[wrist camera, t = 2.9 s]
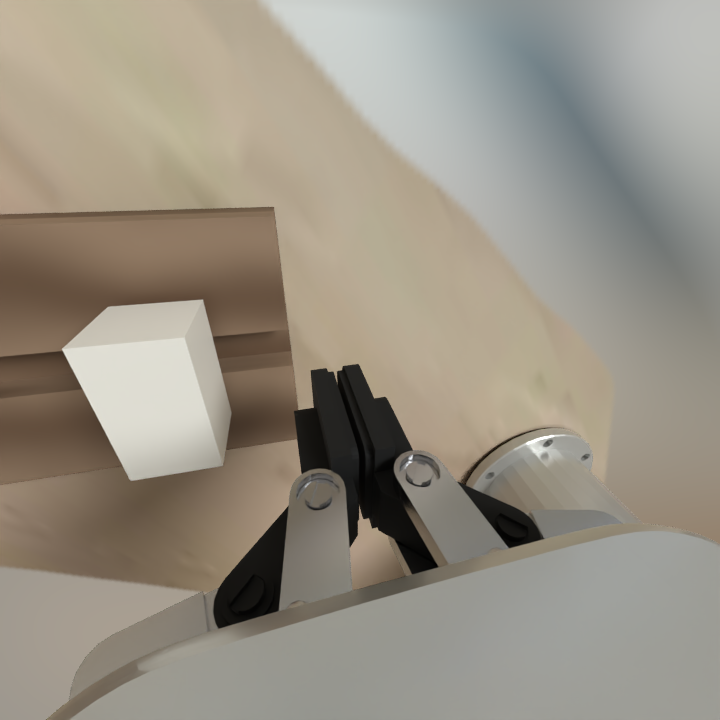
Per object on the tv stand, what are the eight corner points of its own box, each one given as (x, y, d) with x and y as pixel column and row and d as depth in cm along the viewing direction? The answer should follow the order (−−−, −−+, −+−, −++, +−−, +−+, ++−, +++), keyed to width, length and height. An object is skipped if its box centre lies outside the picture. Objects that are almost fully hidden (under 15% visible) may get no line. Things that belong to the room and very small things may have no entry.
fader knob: (234, 391, 19) (223, 465, 14) (165, 400, 18) (130, 481, 13) (209, 285, 15) (184, 337, 11) (124, 291, 15) (61, 349, 10)
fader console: (297, 406, 22) (301, 439, 20) (-166, 469, 18) (-241, 523, 15) (273, 206, 16) (274, 216, 13) (-449, 226, 12) (-657, 247, 9)
